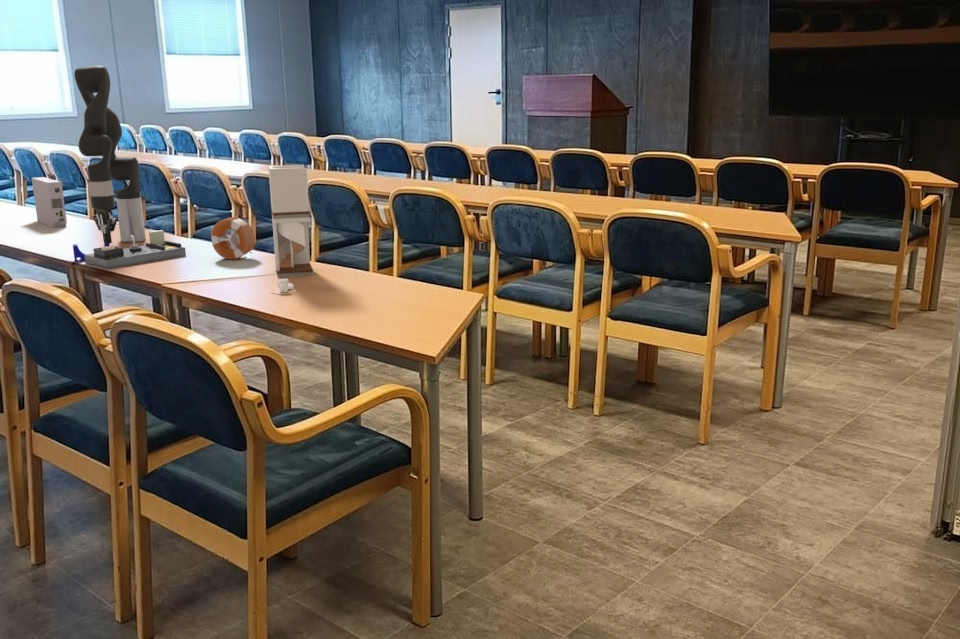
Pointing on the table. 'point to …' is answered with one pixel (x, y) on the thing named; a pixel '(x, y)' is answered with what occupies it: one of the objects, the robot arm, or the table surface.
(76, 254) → the cable clip
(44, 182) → the game console
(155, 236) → the pale green eraser block
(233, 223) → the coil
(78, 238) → the table surface
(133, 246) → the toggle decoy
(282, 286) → the teacup and saucer
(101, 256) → the panel
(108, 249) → the button
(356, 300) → the table surface
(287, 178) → the spiral ramp tower
